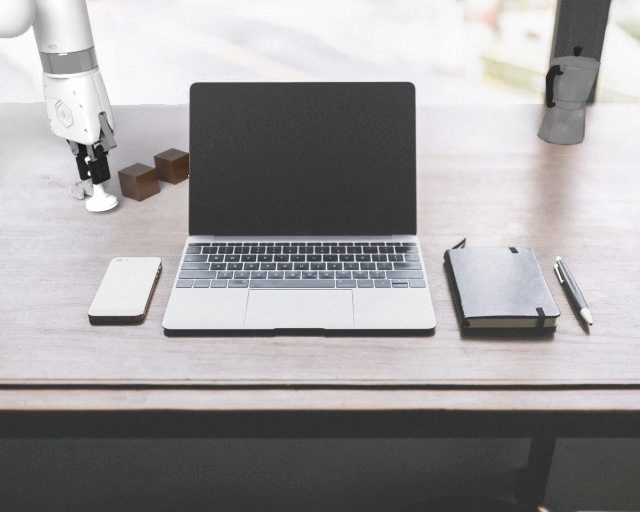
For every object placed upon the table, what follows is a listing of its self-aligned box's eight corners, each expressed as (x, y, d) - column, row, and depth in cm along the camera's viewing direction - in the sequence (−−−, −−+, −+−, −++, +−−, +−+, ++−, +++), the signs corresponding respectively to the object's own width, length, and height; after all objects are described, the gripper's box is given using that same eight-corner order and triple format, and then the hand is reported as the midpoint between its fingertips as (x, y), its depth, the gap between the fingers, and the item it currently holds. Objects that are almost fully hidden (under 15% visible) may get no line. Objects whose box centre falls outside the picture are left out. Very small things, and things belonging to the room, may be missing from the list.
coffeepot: (558, 124, 133) (575, 37, 124) (599, 135, 127) (620, 44, 117) (515, 141, 125) (529, 49, 115) (556, 154, 118) (575, 58, 109)
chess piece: (118, 196, 102) (106, 138, 97) (116, 209, 98) (104, 150, 93) (87, 199, 102) (73, 142, 96) (84, 213, 97) (69, 153, 92)
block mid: (122, 195, 106) (117, 171, 103) (142, 186, 109) (137, 162, 107) (140, 201, 104) (135, 177, 101) (160, 192, 107) (156, 167, 104)
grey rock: (96, 202, 104) (92, 188, 102) (32, 199, 105) (28, 185, 104) (110, 187, 108) (107, 174, 107) (49, 185, 110) (46, 171, 109)
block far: (157, 179, 111) (153, 155, 109) (175, 170, 115) (171, 147, 112) (174, 184, 109) (171, 161, 107) (192, 176, 112) (189, 152, 110)
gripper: (13, 59, 89) (44, 177, 99) (83, 74, 82) (110, 200, 91) (57, 49, 95) (83, 161, 104) (128, 62, 87) (149, 182, 96)
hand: (95, 178), depth 98 cm, fingers closed on chess piece
